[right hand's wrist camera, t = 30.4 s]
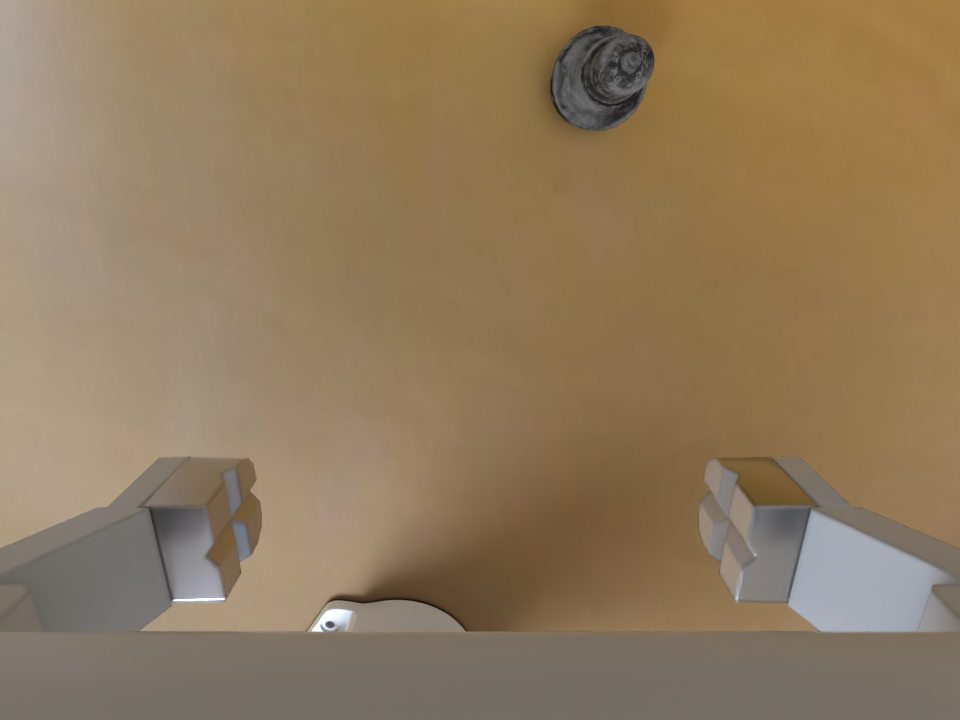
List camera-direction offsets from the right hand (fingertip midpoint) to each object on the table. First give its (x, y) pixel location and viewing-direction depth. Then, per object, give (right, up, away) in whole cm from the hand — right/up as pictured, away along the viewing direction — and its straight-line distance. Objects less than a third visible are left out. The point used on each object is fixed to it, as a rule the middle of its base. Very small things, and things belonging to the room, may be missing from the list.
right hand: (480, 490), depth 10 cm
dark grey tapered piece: (+7, +21, +28) cm, 36 cm away
